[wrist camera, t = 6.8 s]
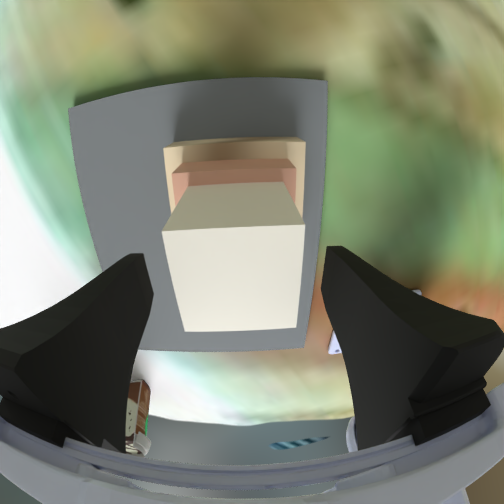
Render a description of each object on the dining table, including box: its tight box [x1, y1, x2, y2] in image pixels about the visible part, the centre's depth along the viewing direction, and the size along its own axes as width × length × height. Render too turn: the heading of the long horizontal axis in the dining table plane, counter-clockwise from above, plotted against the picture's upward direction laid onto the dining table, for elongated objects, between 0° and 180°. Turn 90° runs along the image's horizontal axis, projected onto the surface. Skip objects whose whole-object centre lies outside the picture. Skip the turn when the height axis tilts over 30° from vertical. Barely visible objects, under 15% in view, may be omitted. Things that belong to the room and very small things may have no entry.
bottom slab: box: [163, 137, 306, 217], centre depth 17 cm, size 8×8×2 cm
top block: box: [162, 182, 305, 332], centre depth 12 cm, size 5×5×5 cm
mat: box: [68, 77, 327, 352], centre depth 21 cm, size 18×24×1 cm
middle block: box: [172, 159, 296, 207], centre depth 15 cm, size 6×6×2 cm
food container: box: [126, 379, 151, 457], centre depth 29 cm, size 12×6×10 cm, turn 111°
